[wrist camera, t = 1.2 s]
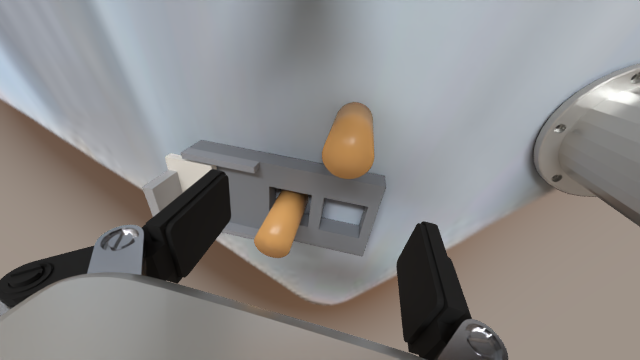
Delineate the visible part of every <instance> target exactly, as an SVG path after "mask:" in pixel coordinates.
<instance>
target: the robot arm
mask: <svg viewBox="0 0 640 360" xmlns="http://www.w3.org/2000/svg"><path fill="white" fill-rule="evenodd" d="M534 163H535V167H536V170H537V171H538V173H539V174H540V176H541V177H542V178H543V179H544V180H545V181H546V182H548V183H549V184H550V185H551V186H553V187H554V188H556V189H557V190H560V191H562V192H565V193H568V194H572V195H577V196H589V197H599V198H600V199H601V200H603V201H604V202H606V203H607V204H608V205H610V206H611V207H613V208H614V209H615V210H617V211H618V212H620V213H621V214H623V215H624V216H625V217H627V218H628V219H630V220H631V221H632V222H634V223H635V224H637V225H638V226H639V227H640V64H636V65H632V66H629V67H626V68H623V69H621V70H618V71H615V72H612V73H610V74H608V75H606V76H604V77H602V78H600V79H598V80H596V81H594V82H592V83H591V84H589V85H587V86H586V87H584V88H583V89H581V90H579V91H578V92H577V93H575V94H574V95H573V96H572V97H570V98H569V99H568V100H567V101H565V102H564V103H563V104H562V105H561V106H560V107H559V108H558V109H557V110H556V111H555V112H554V113H553V114H552V115H551V117H550V118H549V119H548V121H547V122H546V123H545V125H544V126H543V128H542V130H541V132H540V134H539V136H538V138H537V140H536V144H535V148H534ZM230 219H231V205H230V192H229V178H228V176H227V175H226V173H225V172H224V171H220V170H216V169H211V170H210V171H209V172H207V173H206V174H205V175H204V176H203V177H201V178H200V179H199V180H198V181H196V182H195V183H194V184H193V185H192V186H190V187H189V188H188V189H187V190H186V191H184V192H183V193H182V194H181V195H179V196H178V197H177V198H176V199H175V200H173V201H172V202H171V203H170V204H168V205H167V206H166V207H165V208H164V209H162V210H161V211H160V212H159V213H157V214H156V215H155V216H154V217H153V218H151V219H150V220H149V221H148V222H147V223H146V225H144V226H143V227H142V228H141V227H138V226H136V225H123V226H119V227H116V228H113V229H111V230H109V231H107V232H105V233H104V234H103V235H101V236H100V237H99V238H98V239H97V241H96V243H95V245H94V246H91V247H87V248H84V249H80V250H76V251H72V252H68V253H64V254H61V255H57V256H53V257H49V258H45V259H41V260H38V261H34V262H31V263H28V264H25V265H23V266H21V267H18V268H16V269H14V270H13V271H11V272H10V273H8V274H6V275H5V276H4V277H3V278H2V279H1V280H0V360H508V353H507V350H506V348H505V346H504V344H503V342H502V340H501V339H500V338H499V336H498V335H497V334H496V333H495V332H494V331H493V330H492V329H491V328H490V327H488V326H487V325H485V324H484V323H482V322H480V321H478V320H473V319H472V318H471V315H470V312H469V309H468V306H467V303H466V300H465V297H464V295H463V292H462V289H461V286H460V283H459V280H458V278H457V274H456V271H455V269H454V266H453V263H452V261H451V259H450V258H449V257H448V256H447V253H446V250H445V247H444V244H443V241H442V238H441V235H440V232H439V229H438V226H437V225H436V224H432V223H428V222H422V223H421V224H419V223H418V224H417V225H416V227H415V229H414V231H413V232H412V234H411V236H410V238H409V240H408V242H407V244H406V245H405V247H404V249H403V251H402V253H401V255H400V257H399V258H398V261H397V276H398V286H399V296H400V307H401V317H402V327H403V337H404V341H405V342H407V343H408V349H409V352H411V353H415V354H418V355H419V357H418V356H416V355H413V354H410V353H407V352H404V351H401V350H398V349H395V348H391V347H388V346H385V345H382V344H379V343H376V342H372V341H369V340H366V339H363V338H360V337H356V336H353V335H349V334H346V333H343V332H340V331H336V330H333V329H329V328H326V327H323V326H320V325H316V324H313V323H309V322H306V321H303V320H299V319H296V318H293V317H289V316H286V315H283V314H279V313H276V312H272V311H269V310H266V309H262V308H259V307H255V306H252V305H248V304H245V303H242V302H238V301H235V300H231V299H227V298H224V297H221V296H218V295H214V294H211V293H207V292H204V291H200V290H197V289H193V288H190V287H186V286H182V285H179V284H175V283H178V282H179V281H180V280H181V279H182V277H186V276H187V275H188V274H189V273H190V272H191V271H192V269H193V268H194V267H195V265H196V264H197V263H198V262H199V260H200V259H201V258H202V256H203V255H204V254H205V252H206V251H207V250H208V248H209V247H210V246H211V245H212V243H213V242H214V241H215V240H216V238H217V237H218V236H219V234H220V233H221V232H222V231H223V229H224V228H225V227H226V225H227V224H228V223H229V221H230ZM166 280H167V281H170V282H167V281H166ZM171 282H174V283H171Z"/></svg>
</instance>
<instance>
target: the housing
mask: <svg viewBox="0 0 640 360" xmlns="http://www.w3.org/2000/svg"><path fill="white" fill-rule="evenodd" d="M181 156H182V159H186V160H191V161H196V162H201V163H206V164H211V165H216V167H217V170H220V171H224V172H225V173H226V175H227V176H228V178H229V192H230V205H231V219H230V221H229V223H228V224H227V225H226V227H225V228H224V229H223V231H222V232H223V233H227V234H232V235H236V236H240V237H245V238H249V239H253V240H254V238H255V236H256V234H257V233H258V231H259V229H260V227H261V226H262V224H263V222H264V220H265V218H266V217H267V215H268V213H269V211H270V210H271V208H272V206H273V204H274V203H275V200H276V188H280V189H284V190H289V191H294V192H299V193H304V194H308V195H312V198H311V206H310V214H309V215H308V214H303V216H302V219H301V221H300V224H299V227H298V229H297V232H296V235H295V238H294V240H293V241H297V242H301V243H306V244H310V245H315V246H319V247H323V248H328V249H332V250H337V251H341V252H345V253H350V254H354V255H359V256H363V254H364V251H365V248H366V245H367V242H368V239H369V236H370V233H371V230H372V227H373V224H374V221H375V218H376V215H377V212H378V209H379V206H380V203H381V201H382V198H383V195H384V192H385V189H386V182H385V176H382V175H377V174H372V173H365V174H364V175H362V176H360V177H358V178H354V179H343V178H339V177H337V176H335V175H333V174H332V173H331V172H329V171H328V169H327V168H326V167H325V165H324V164H321V163H316V162H311V161H306V160H301V159H296V158H290V157H285V156H280V155H275V154H270V153H265V152H260V151H255V150H250V149H244V148H239V147H234V146H229V145H224V144H219V143H214V142H209V141H204V140H200V141H199V142H197V143H195V144H194V145H192V146H191V147H189V148H187V149H186V150H184V151H183V152H181ZM325 198H328V199H332V200H337V201H342V202H347V203H352V204H356V205H361V206H365V208H364V212H363V215H362V218H361V222H360V225H359V226H358V225H354V224H349V223H345V222H340V221H335V220H331V219H326V218H322V213H323V207H324V201H325Z"/></svg>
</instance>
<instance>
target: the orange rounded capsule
mask: <svg viewBox="0 0 640 360" xmlns="http://www.w3.org/2000/svg"><path fill="white" fill-rule="evenodd" d="M307 203H308V194H304V193H299V192H294V191H289V190H284V189H282V190H281V192H280V194H279V196H278V197H277V199H276V201H275V203H274V204H273V206H272V208H271V210H270V211H269V213H268V215H267V217H266V218H265V220H264V222H263V224H262V226H261V227H260V229H259V231H258V233H257V234H256V236H255V238H254V243H255V246H256V247H257V249H258V250H259V251H260V252H262V253H263V254H265V255H267V256H269V257H274V258H281V257H284V256H286V255H287V254H288V253H289V251H290V248H291V246H292V243H293V240H294V238H295V235H296V232H297V229H298V227H299V224H300V221H301V219H302V216H303V213H304V211H305V208H306V205H307Z"/></svg>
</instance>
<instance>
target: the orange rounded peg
mask: <svg viewBox="0 0 640 360" xmlns="http://www.w3.org/2000/svg"><path fill="white" fill-rule="evenodd" d="M322 159H323V163H324V165H325V167H326V168H327V169H328V171H329V172H331V173H332V174H333V175H335V176H337V177H339V178H343V179H354V178H358V177H360V176H362V175H364V174H365V173H367V172H368V171H369V169H370V168H371V166H372V164H373V161H374V138H373V117H372V113H371V111H370V110H369V108H368V107H367V106H365V105H364V104H361V103H358V102H352V103H348V104H346V105H344V106H343V107H342V108H341V109H340V110H339V111H338V113H337V116H336V118H335V121H334V123H333V125H332V128H331V130H330V133H329V135H328V138H327V140H326V142H325V145H324V147H323V151H322Z"/></svg>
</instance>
